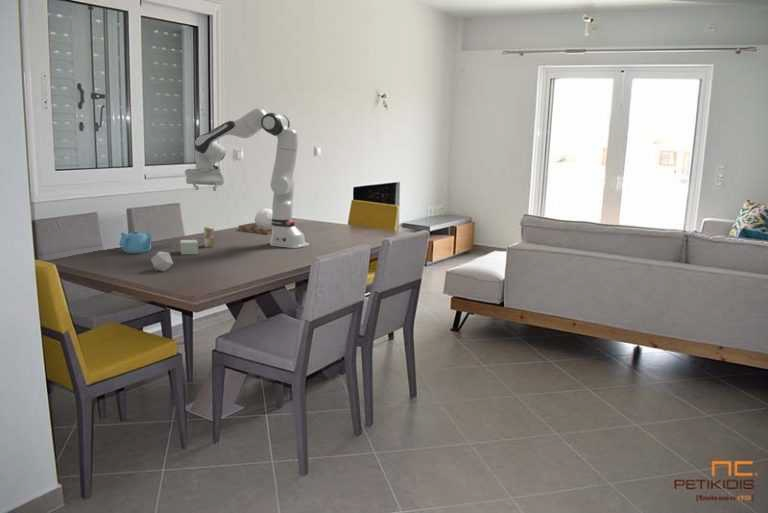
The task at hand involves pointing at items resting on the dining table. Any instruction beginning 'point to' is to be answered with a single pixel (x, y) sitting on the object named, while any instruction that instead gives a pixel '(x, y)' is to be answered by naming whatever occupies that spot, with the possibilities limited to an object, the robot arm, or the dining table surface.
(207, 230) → the beech block
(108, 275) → the dining table surface
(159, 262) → the die
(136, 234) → the teapot
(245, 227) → the wooden rectangular frame
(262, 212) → the geodesic sphere
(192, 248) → the sage cube
